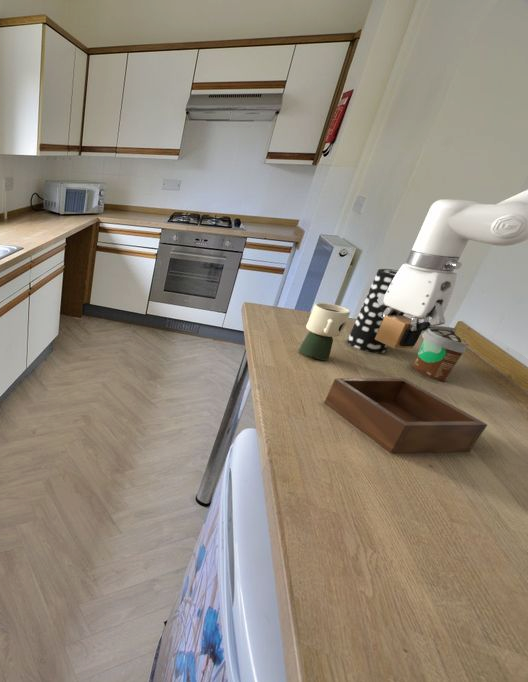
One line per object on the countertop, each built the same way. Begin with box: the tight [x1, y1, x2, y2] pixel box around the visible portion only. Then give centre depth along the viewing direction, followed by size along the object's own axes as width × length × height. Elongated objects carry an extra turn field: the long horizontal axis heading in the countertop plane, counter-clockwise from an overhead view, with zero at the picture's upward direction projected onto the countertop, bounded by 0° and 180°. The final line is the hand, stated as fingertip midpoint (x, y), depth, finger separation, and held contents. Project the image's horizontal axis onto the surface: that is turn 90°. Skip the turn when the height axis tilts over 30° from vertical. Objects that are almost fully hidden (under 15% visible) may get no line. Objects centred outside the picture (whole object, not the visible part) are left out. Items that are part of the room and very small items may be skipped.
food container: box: [412, 325, 469, 383], centre depth 96 cm, size 12×6×10 cm, turn 144°
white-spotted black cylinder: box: [346, 268, 405, 354], centre depth 105 cm, size 8×8×20 cm
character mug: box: [298, 302, 351, 361], centre depth 100 cm, size 11×7×13 cm, turn 150°
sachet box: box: [375, 315, 420, 349], centre depth 92 cm, size 4×5×6 cm
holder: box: [324, 377, 488, 454], centre depth 75 cm, size 15×15×6 cm
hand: (394, 339), depth 93 cm, fingers closed on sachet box, 5 cm apart
